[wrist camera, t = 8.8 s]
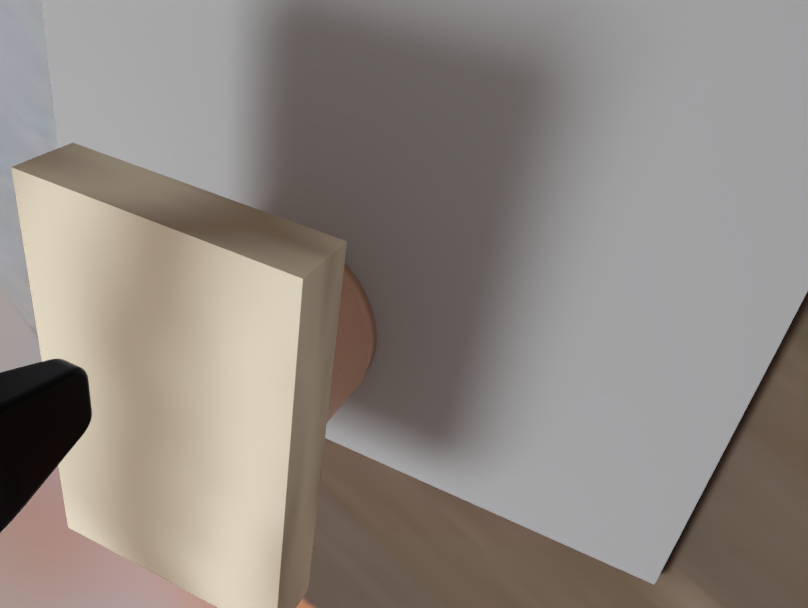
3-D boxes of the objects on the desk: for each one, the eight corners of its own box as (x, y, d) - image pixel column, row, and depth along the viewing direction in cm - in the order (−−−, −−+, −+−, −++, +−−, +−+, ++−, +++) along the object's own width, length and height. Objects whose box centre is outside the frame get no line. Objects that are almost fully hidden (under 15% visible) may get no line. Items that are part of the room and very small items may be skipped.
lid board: (347, 241, 16) (303, 279, 15) (308, 589, 23) (275, 638, 22) (72, 142, 18) (11, 167, 17) (110, 488, 25) (68, 527, 24)
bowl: (389, 264, 22) (306, 345, 18) (364, 420, 25) (291, 513, 22) (211, 199, 23) (104, 261, 20) (211, 354, 27) (120, 430, 23)
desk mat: (1192, -459, 11) (1204, -469, 10) (656, 574, 24) (654, 584, 23) (-7, -534, 17) (-23, -541, 16) (86, 322, 30) (79, 328, 29)
